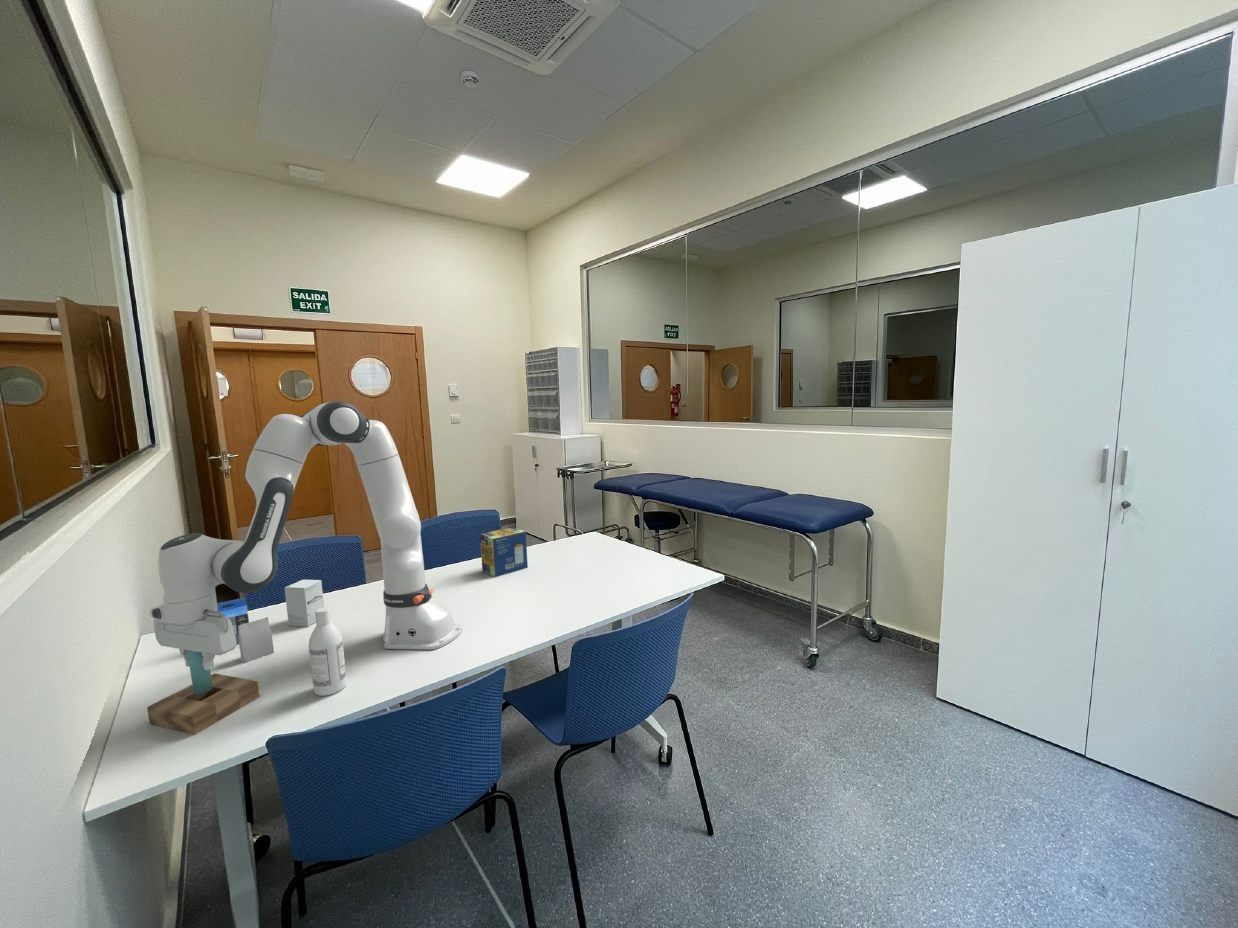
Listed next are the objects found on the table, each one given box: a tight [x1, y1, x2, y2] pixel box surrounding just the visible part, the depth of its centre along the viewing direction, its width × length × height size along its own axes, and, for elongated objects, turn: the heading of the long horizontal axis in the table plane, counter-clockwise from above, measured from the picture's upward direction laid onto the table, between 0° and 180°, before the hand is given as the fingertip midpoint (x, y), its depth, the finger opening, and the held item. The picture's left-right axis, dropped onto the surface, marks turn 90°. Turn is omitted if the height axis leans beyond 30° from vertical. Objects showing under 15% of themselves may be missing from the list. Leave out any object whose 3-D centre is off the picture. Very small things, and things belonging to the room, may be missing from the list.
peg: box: [187, 650, 213, 695], centre depth 114 cm, size 3×3×12 cm
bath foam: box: [308, 606, 348, 697], centre depth 121 cm, size 7×7×20 cm
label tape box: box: [217, 597, 250, 645], centre depth 147 cm, size 9×4×12 cm, turn 128°
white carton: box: [238, 616, 275, 664], centre depth 139 cm, size 4×7×10 cm, turn 139°
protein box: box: [479, 526, 528, 578], centre depth 204 cm, size 10×15×16 cm
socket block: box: [146, 673, 260, 735], centre depth 115 cm, size 14×14×4 cm
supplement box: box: [284, 579, 325, 628], centre depth 161 cm, size 7×7×13 cm
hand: (200, 666), depth 114 cm, fingers closed on peg, 3 cm apart
